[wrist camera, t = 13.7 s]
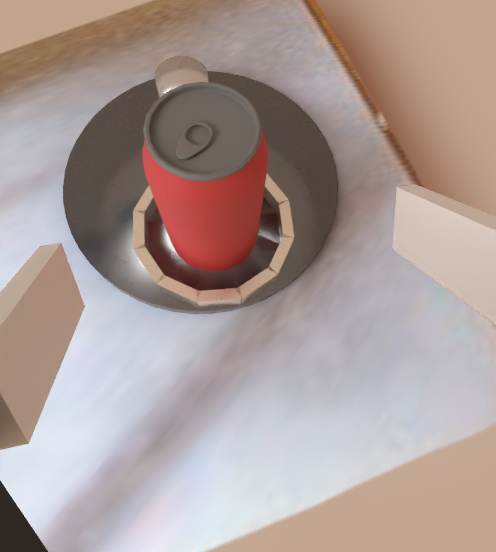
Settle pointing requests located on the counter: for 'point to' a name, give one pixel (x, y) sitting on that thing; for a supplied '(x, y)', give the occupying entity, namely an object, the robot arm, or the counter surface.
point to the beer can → (207, 172)
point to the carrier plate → (146, 217)
